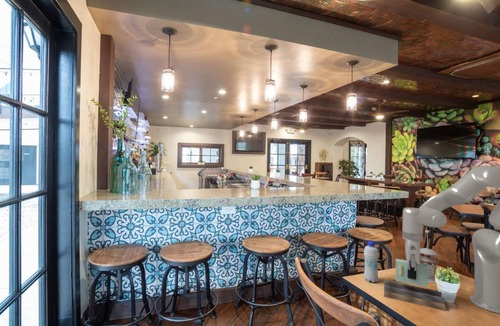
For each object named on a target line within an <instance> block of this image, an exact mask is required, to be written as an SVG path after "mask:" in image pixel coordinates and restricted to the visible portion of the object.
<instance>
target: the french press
mask: <svg viewBox="0 0 500 326" xmlns="http://www.w3.org/2000/svg"><path fill="white" fill-rule="evenodd" d="M424 232H425V233H426V234H427V235H426V238H427V239H426V247H422V248H421V247H420V254H422V255H426V256H420V263H423V264H427V265H428V283H431V282H432V284H433V283H435V273H436V274H437V272H436V271H437V267H438V265H439V262H437V263H436V261H437V260H436V259H435V258H436V257H437V259H439V255H438V252H436V251H435V250H433V249H432V248H429V247H428V246H429V245H428V244H429V241H428V238H429V233H430V230H428V229H426V230H425V231H424ZM428 256H431V258H430V257H428ZM432 257H434V258H432ZM435 284H436V283H435Z"/></svg>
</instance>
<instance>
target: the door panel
mask: <svg viewBox="0 0 500 326" xmlns="http://www.w3.org/2000/svg"><path fill="white" fill-rule="evenodd" d="M410 262H411V261H410ZM423 263H424V262H420V265H418V264H417V263H416V280H414V279H409V278H408V262H407V259H406V260H405V259H401V258H400V259H399V258H395V282H398V283H403V284H408V285H412V286H417V287H422V288H429V282H428V265H427V264H426V263H425V264H423ZM410 265H411V264H410Z"/></svg>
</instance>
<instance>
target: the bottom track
mask: <svg viewBox="0 0 500 326" xmlns="http://www.w3.org/2000/svg"><path fill="white" fill-rule="evenodd" d="M383 283H384V285H383V296H384V298H389V299H393V300H396V301H401V302H406V303H409V304H414V305H419V306H424V307H428V308H432V309H436V310H441V311H446V310H447V309H446V308H447V307H446V305H445V301H446V300H445V298H444V297H443V293H441V292H442V291H441V292H439V291H440V290H436V289H430V288H427V287H422V286H417V285H412V284H407V283H402V282H397V281H390V280H387V279H386V280H384V281H383Z"/></svg>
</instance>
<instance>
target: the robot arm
mask: <svg viewBox="0 0 500 326" xmlns="http://www.w3.org/2000/svg"><path fill="white" fill-rule="evenodd" d="M486 188H494V189H500V166H497V165H495V166H494V165H492V166H491V165H490V166H489V165H479V166H475V167H472V168H471V169H470V170H469V171H468V172H466V173H465V174H463V176H462V177H461V178H459V179H458V180H457V181H456V182H455V183H453V184H452V185H451V186H450V187H449V188H447V189H444V190H442V191H440V192H439V193H437V194H435V195H433V196H432V197H430V198H429V199H427V200H425V202H424V203H423V204H421V205H420V206H418V208H417V207H403V209H402V232H401V233H402V235H401V236H402V237H401V238H402V239H403V240H405V242H404V244H405V245H404V246H405V248H404V249H405V250H404V251H405V259H406V261H407V262H408V278H409V279H414V280H416V263H417V264H418V265H420V263H421V262H420V257H421V253H420V249H421V242H423V229H424V226H425V227H429V228H435V229H436V228H443V227H444V226H445V225H446V224H447V221H448V219H447V216H446V214H445V213H443V211H444V210H446V209H448V208H451V207H454V206H460V205H464V204H467V203H470V202H471V201H472V200H473V199H474V198H475V197H477V196H478V195H479V194H481V193H482V191H484V190H485V189H486ZM488 222H489V223H490V225H491V226H492V227H494V228H496V229H498V230H500V199H499V200H498V202H497V203H496V205H495V206H494V208H493V209H492V211H491V212H490V214H489V217H488ZM471 244H472V248H473V253H474V254H473V255H474V276H473V277H474V279H473V280H474V283H473V284H474V289H473V290H474V291H473V292H474V294H472V295H470V296H469V301H470V302H471V303H472V304H473V305H475V306H477V307H478V308H481V309H483V310H486V311H488V312H493V313H498V314H500V232H499V231H497V230H493V229H490V228H480V229H477V230H475V231H474V233H473V234H472V236H471ZM410 261H411V262H410ZM410 264H411V265H410Z"/></svg>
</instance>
